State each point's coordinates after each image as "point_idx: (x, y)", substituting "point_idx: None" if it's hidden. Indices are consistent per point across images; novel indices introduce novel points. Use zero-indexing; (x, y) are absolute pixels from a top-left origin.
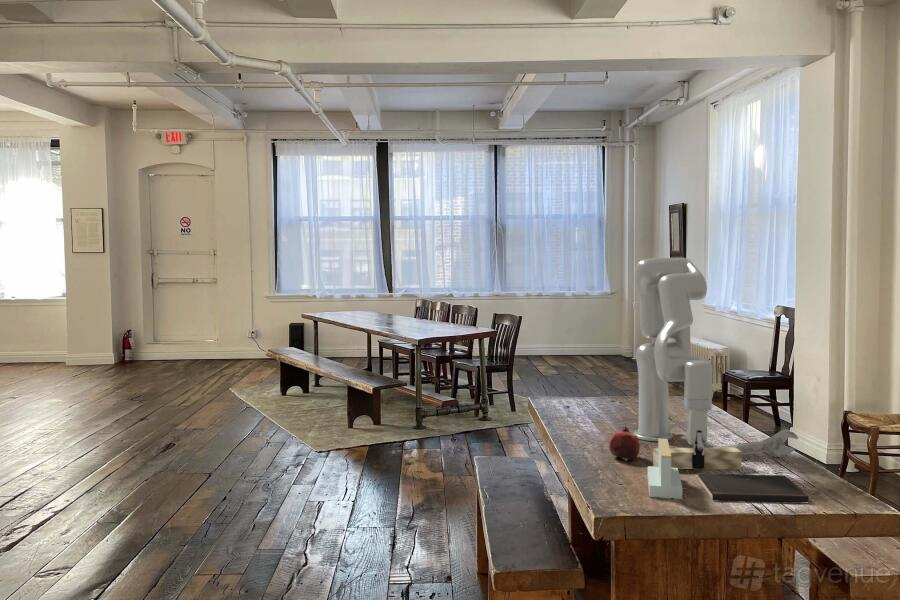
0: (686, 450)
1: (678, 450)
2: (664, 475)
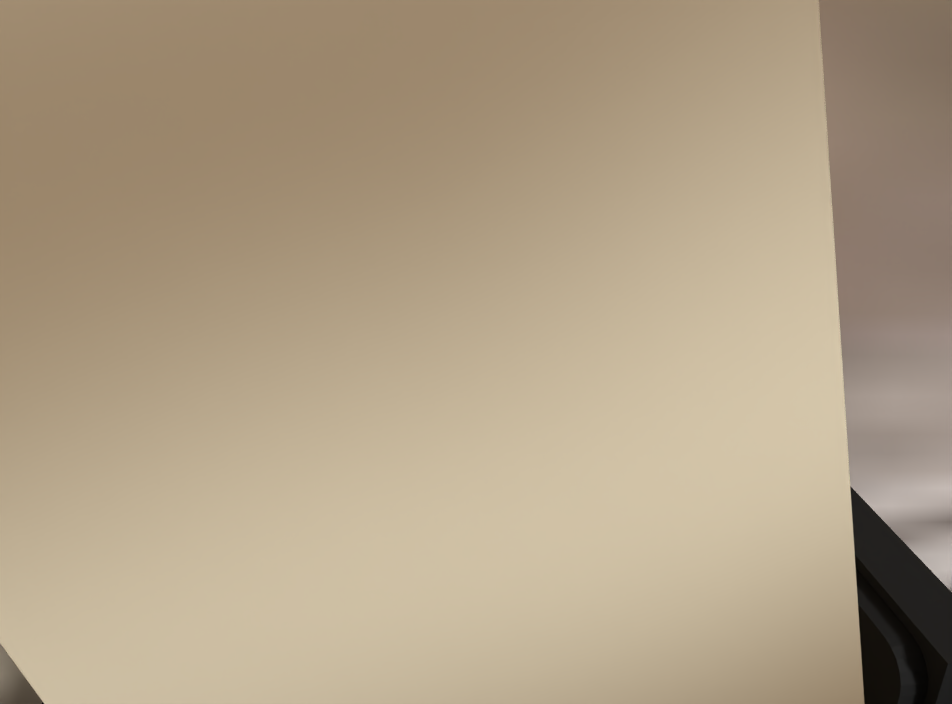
0: (399, 619)
1: (258, 214)
2: None
